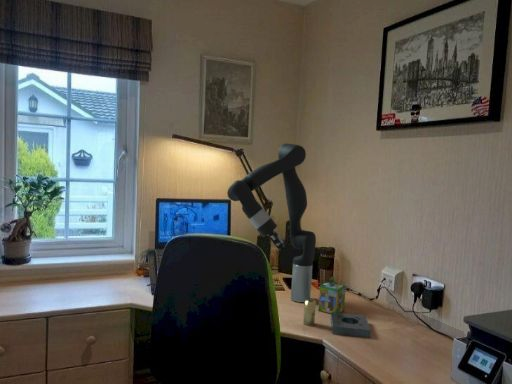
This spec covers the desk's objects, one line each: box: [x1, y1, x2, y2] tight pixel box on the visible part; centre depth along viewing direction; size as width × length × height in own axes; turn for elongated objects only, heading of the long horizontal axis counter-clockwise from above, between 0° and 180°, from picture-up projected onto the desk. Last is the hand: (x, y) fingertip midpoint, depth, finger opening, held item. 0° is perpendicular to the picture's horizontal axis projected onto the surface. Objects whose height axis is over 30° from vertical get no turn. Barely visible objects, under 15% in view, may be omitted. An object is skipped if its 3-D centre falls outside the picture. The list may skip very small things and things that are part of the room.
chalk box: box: [318, 276, 347, 314], centre depth 183 cm, size 9×9×15 cm
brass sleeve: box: [302, 298, 317, 327], centre depth 166 cm, size 4×4×10 cm
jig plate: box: [330, 312, 372, 339], centre depth 164 cm, size 16×14×3 cm
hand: (288, 254), depth 166 cm, fingers open, 8 cm apart
